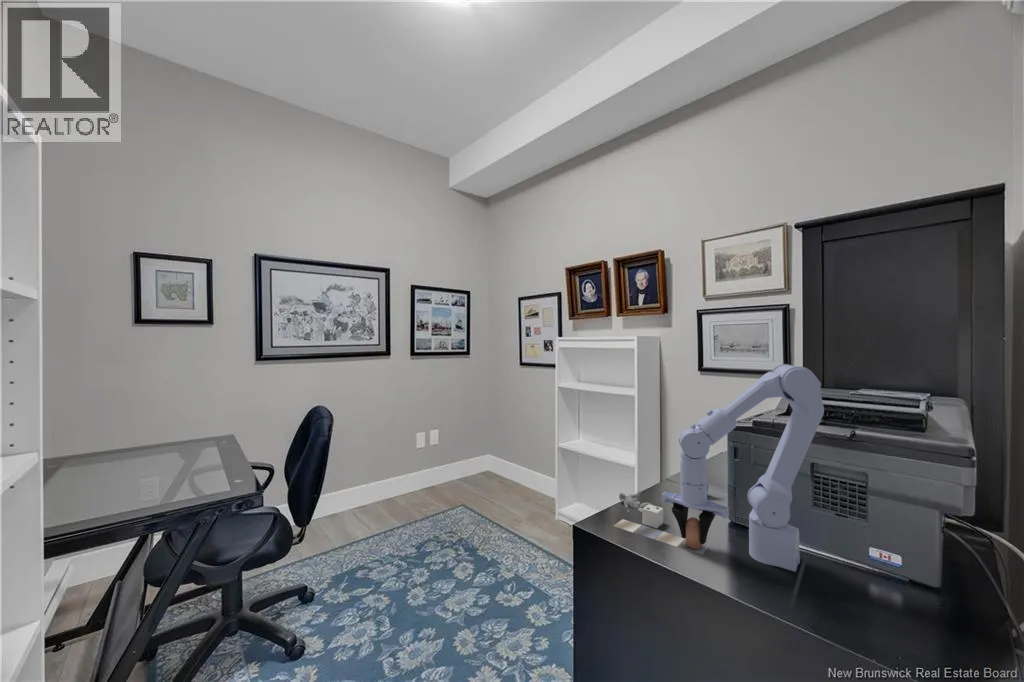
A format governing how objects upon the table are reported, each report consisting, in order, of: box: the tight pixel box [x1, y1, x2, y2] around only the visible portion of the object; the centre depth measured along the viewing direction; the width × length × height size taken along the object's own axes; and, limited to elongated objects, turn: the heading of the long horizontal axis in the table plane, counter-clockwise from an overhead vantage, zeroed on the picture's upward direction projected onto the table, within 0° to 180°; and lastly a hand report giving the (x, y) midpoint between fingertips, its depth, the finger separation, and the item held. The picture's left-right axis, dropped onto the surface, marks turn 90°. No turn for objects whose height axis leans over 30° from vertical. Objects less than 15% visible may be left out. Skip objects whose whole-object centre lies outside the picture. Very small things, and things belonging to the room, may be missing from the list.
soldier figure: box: [618, 490, 653, 513], centre depth 118 cm, size 8×5×12 cm
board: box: [613, 518, 710, 556], centre depth 104 cm, size 22×12×1 cm, turn 49°
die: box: [641, 504, 664, 529], centre depth 108 cm, size 4×4×4 cm
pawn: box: [685, 516, 702, 549], centre depth 96 cm, size 4×4×6 cm
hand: (693, 539), depth 96 cm, fingers closed on pawn, 4 cm apart
